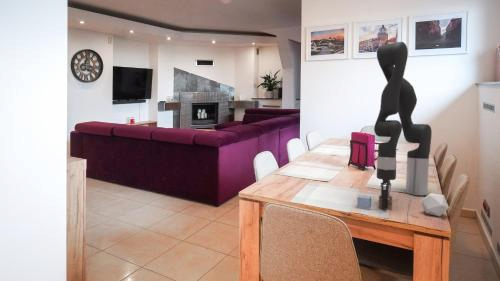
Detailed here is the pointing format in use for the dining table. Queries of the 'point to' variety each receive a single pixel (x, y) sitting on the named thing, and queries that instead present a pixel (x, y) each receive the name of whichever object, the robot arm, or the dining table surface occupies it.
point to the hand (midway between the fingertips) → (385, 206)
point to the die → (435, 204)
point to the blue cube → (364, 202)
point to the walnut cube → (388, 202)
